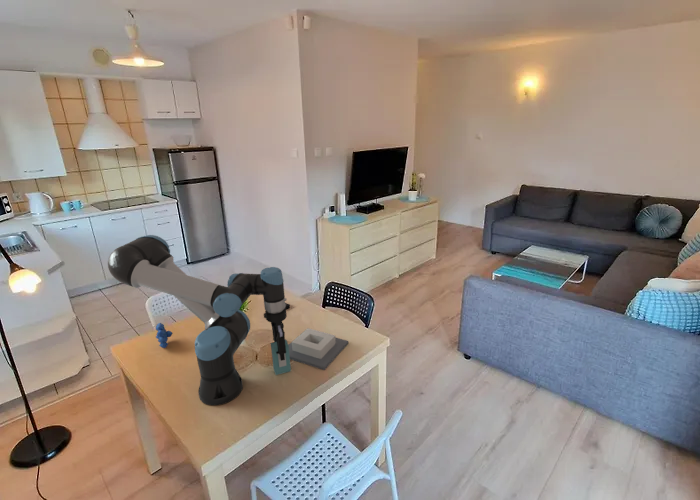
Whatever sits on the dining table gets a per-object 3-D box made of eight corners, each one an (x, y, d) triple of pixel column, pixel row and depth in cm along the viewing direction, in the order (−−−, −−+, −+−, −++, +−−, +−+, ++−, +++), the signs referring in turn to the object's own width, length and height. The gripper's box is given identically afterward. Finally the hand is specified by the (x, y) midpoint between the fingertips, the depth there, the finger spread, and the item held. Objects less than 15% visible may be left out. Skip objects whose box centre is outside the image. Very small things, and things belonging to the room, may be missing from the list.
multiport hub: (290, 308, 192) (290, 304, 192) (269, 320, 181) (269, 316, 180) (284, 306, 195) (284, 302, 194) (263, 317, 184) (263, 313, 183)
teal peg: (291, 371, 144) (288, 344, 140) (275, 375, 141) (272, 348, 137) (288, 365, 147) (285, 339, 143) (273, 369, 145) (270, 343, 141)
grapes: (176, 351, 158) (171, 327, 154) (159, 356, 155) (153, 331, 151) (174, 338, 168) (169, 315, 164) (157, 342, 165) (152, 319, 161)
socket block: (324, 370, 143) (323, 358, 142) (279, 355, 153) (277, 344, 151) (348, 343, 160) (348, 332, 158) (306, 331, 170) (305, 321, 168)
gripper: (291, 317, 129) (296, 372, 137) (280, 297, 144) (285, 348, 152) (269, 322, 126) (276, 378, 134) (261, 301, 141) (267, 352, 149)
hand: (281, 362), depth 143 cm, fingers closed on teal peg, 4 cm apart
